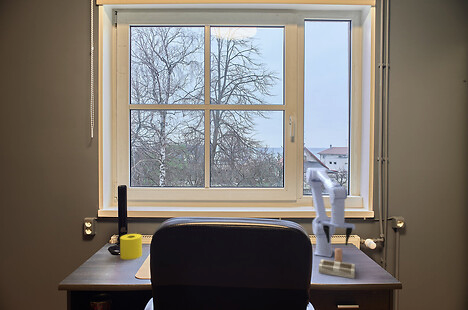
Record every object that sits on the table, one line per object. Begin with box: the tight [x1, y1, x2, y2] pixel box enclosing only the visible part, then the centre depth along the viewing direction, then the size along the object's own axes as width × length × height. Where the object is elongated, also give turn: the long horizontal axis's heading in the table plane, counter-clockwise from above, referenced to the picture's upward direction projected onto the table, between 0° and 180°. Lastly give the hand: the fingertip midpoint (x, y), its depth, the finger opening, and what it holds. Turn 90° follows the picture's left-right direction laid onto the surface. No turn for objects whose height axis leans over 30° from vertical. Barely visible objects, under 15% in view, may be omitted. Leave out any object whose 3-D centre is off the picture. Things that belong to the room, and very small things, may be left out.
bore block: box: [318, 259, 356, 279], centre depth 128 cm, size 8×14×3 cm, turn 66°
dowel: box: [334, 247, 343, 262], centre depth 135 cm, size 3×3×7 cm
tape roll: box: [119, 233, 143, 261], centre depth 146 cm, size 10×10×9 cm
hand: (337, 243), depth 135 cm, fingers open, 7 cm apart
